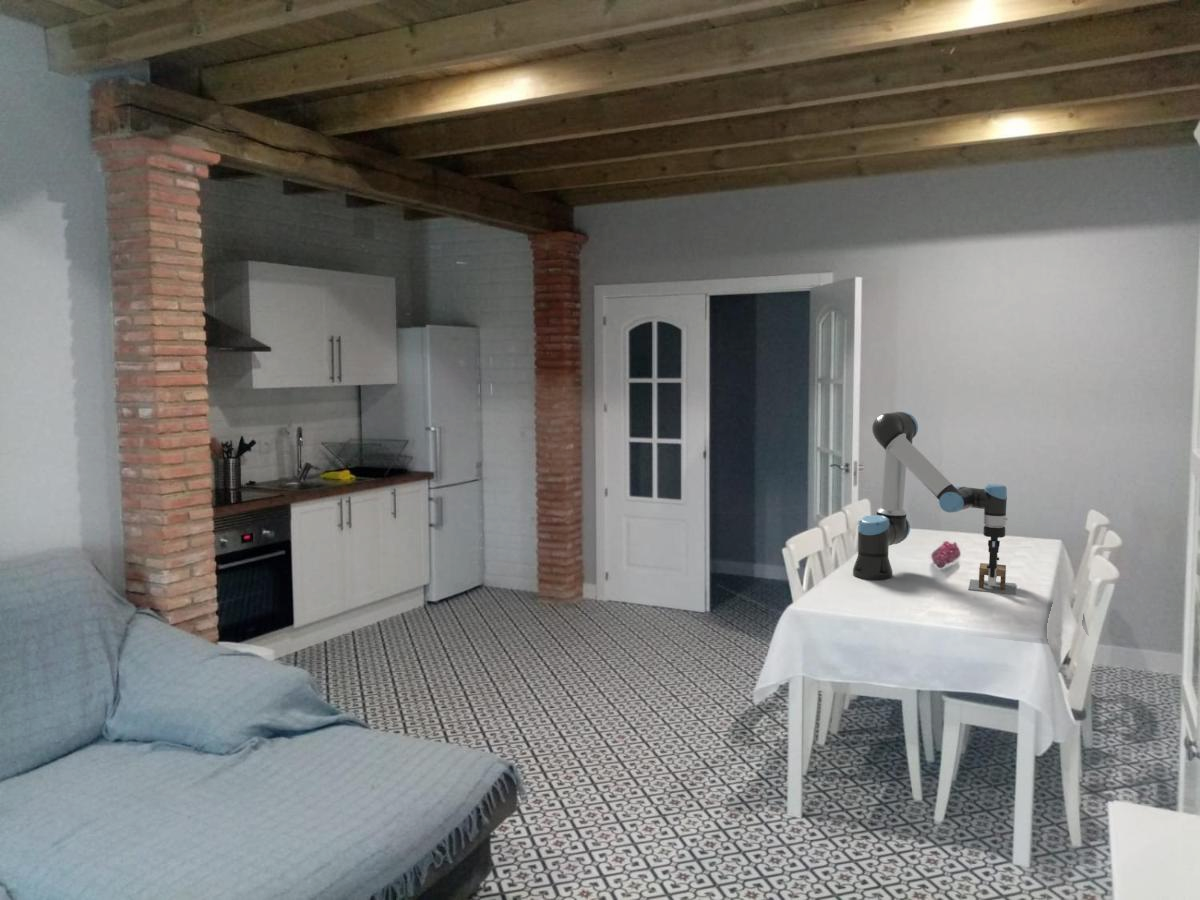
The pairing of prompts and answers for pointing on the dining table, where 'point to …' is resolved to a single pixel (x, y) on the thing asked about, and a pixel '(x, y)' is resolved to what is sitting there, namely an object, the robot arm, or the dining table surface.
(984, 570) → the wooden stool
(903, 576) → the dining table surface
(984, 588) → the mat
